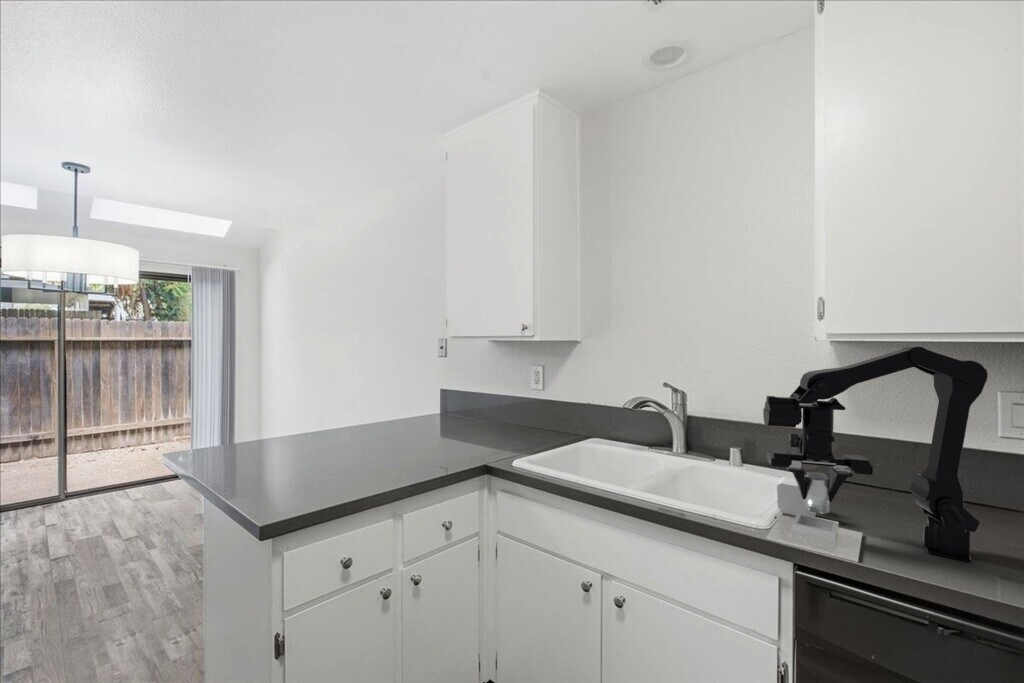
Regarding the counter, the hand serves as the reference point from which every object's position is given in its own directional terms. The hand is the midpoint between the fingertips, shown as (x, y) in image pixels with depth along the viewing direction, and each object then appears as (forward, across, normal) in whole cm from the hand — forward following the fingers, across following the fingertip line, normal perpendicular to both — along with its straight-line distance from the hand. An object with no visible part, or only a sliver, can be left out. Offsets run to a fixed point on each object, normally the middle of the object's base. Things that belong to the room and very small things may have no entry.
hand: (816, 500), depth 103 cm
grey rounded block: (+8, 0, -17) cm, 19 cm away
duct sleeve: (+2, 0, 0) cm, 2 cm away
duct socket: (+8, 0, 0) cm, 8 cm away
